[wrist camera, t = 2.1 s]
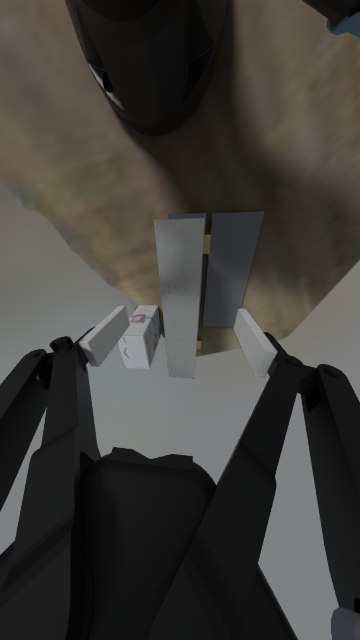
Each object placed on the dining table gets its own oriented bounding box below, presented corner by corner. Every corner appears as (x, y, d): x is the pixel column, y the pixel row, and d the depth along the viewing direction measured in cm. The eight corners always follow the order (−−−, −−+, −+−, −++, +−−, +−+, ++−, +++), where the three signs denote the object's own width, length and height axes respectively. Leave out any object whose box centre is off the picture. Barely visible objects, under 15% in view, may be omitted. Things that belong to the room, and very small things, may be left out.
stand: (168, 215, 22) (154, 202, 14) (206, 213, 22) (214, 200, 14) (174, 330, 35) (168, 358, 27) (198, 331, 34) (199, 360, 26)
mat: (212, 213, 22) (212, 213, 21) (263, 211, 21) (264, 211, 21) (202, 325, 33) (202, 326, 33) (235, 326, 33) (235, 327, 32)
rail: (168, 226, 17) (153, 219, 11) (200, 225, 16) (204, 218, 10) (174, 346, 27) (169, 376, 21) (194, 347, 27) (194, 378, 21)
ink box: (162, 333, 36) (150, 371, 26) (144, 333, 36) (125, 369, 26) (159, 305, 31) (142, 336, 21) (138, 304, 32) (113, 335, 22)
